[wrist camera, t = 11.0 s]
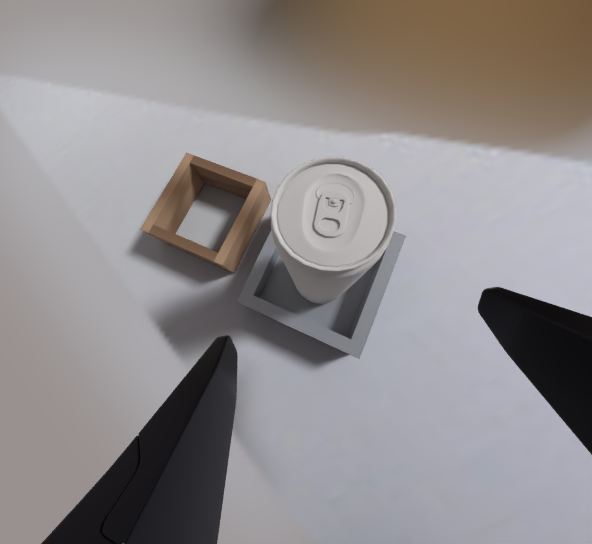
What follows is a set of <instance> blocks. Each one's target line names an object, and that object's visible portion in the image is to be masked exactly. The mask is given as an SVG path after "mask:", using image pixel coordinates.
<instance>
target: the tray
mask: <svg viewBox="0 0 592 544" xmlns="http://www.w3.org/2000/svg"><path fill="white" fill-rule="evenodd" d="M405 237H406V236H405V235H402V234H399V233H397V232H394V231H393V234H392V237H391V238H390V242H389V245H388V246H387V248H386V250H385V251H384V253H383V254H382V256H381V257H380V259H379V260H378V261H377V262H376V263H375V264H374V265H373V266H372V267H371V268H370V269H369V270H368V271H367V272H366V273H365V274H364V275H363V276H362V277H360V278H359V279H358V280H357V281H356V282H355V283H354V284H353V285H352V286H351V287H349V288H348V289H347V290H346V291H345V292H344V293H343V294H341V295H340V296H339V297H338V298H337V299H335V300H333V301H331V302H329V303H324V304H320V303H313V302H310V301H308V300H306V299H305V298H303V297H302V296H301V295H300V293H299V292H298V291H297V289H296V286H295V284H294V282H293V280H292V278H291V276H290V274H289V272H288V270H287V268H286V266H285V264H284V262H283V259H282V257H281V255H280V253H279V251H278V249H277V247H276V245H275V243H274V240H273V236H272V230H271V231H270V233H269V236H268V238H267V240H266V242H265V244H264V246H263V248H262V250H261V252H260V254H259V256H258V258H257V260H256V262H255V264H254V266H253V268H252V270H251V272H250V274H249V276H248V278H247V280H246V282H245V285H244V287H243V289H242V291H241V293H240V295H239V297H238V299H237V301H236V302H237V303H240V304H242V305H244V306H246V307H248V308H250V309H253V310H255V311H257V312H259V313H261V314H263V315H266V316H268V317H270V318H272V319H274V320H276V321H278V322H281V323H283V324H285V325H287V326H289V327H291V328H294V329H296V330H298V331H300V332H302V333H304V334H307V335H309V336H311V337H313V338H315V339H317V340H320V341H322V342H324V343H326V344H328V345H330V346H333V347H335V348H337V349H339V350H341V351H343V352H346V353H348V354H350V355H352V356H354V357H356V358H359V359H360V356H361V353H362V351H363V348H364V345H365V343H366V340H367V337H368V335H369V332H370V329H371V327H372V324H373V322H374V319H375V316H376V314H377V311H378V308H379V306H380V303H381V300H382V298H383V295H384V292H385V290H386V287H387V284H388V282H389V279H390V276H391V274H392V271H393V268H394V266H395V263H396V261H397V258H398V255H399V253H400V250H401V247H402V245H403V242H404V239H405Z"/></svg>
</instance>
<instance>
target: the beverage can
mask: <svg viewBox="0 0 592 544" xmlns="http://www.w3.org/2000/svg"><path fill="white" fill-rule="evenodd" d="M395 223H396V205H395V201H394V198H393V195H392V191H391V190H390V188H389V187H388V185H387V184H386V182H385V181H384V179H383V178H382V177H381V176H380V175H379V174H378V173H377V172H375V171H374V170H373V169H372V168H371V167H369V166H367V165H365V164H363V163H361V162H359V161H357V160H353V159H349V158H345V157H323V158H318V159H313V160H311V161H308V162H306V163H304V164H302V165H300V166H298V167H297V168H296V169H294V170H293V171H292V172H291V173H289V174H288V175H287V176H286V177H285V178H284V180H283V181H282V182H281V184H280V185H279V186H278V188H277V191H276V193H275V195H274V198H273V200H272V208H271V230H272V236H273V240H274V243H275V245H276V247H277V249H278V251H279V253H280V255H281V257H282V259H283V262H284V264H285V266H286V268H287V270H288V272H289V274H290V276H291V278H292V280H293V282H294V284H295V286H296V289H297V291H298V292H299V293H300V295H301V296H302V297H303V298H305V299H306V300H308V301H310V302H313V303H320V304H324V303H329V302H331V301H333V300H335V299H337V298H338V297H339V296H340V295H341V294H343V293H344V292H345V291H346V290H347V289H348V288H349V287H351V286H352V285H353V284H354V283H355V282H356V281H357V280H358V279H359V278H360V277H362V276H363V275H364V274H365V273H366V272H367V271H368V270H369V269H370V268H371V267H372V266H373V265H374V264H375V263H376V262H377V261H378V260H379V259H380V257H381V256H382V254H383V253H384V251H385V250H386V248H387V246H388V245H389V242H390V238H391V237H392V234H393V230H394V227H395Z"/></svg>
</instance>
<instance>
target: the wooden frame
mask: <svg viewBox="0 0 592 544" xmlns="http://www.w3.org/2000/svg"><path fill="white" fill-rule="evenodd" d="M204 182H205V183H208V184H210V185H213V186H215V187H218V188H220V189H223V190H226V191H228V192H231V193H233V194H236V195H239V196H241V197H244V198H246V201H245V203H244V205H243V207H242V209H241V211H240V212H239V214H238V216H237V218H236V220H235V222H234V224H233V226H232V228H231V230H230V232H229V233H228V235H227V237H226V239H225V241H224V243H223V245H222V247H221V249H220V251H219V253H218V252H215V251H213V250H211V249H208V248H206V247H204V246H202V245H199V244H197V243H195V242H192V241H190V240H188V239H185V238H183V237H181V236H178V235H176V234H175V233H176V231H177V230H178V228H179V226H180V224H181V223H182V221H183V219H184V217H185V216H186V214H187V212H188V210H189V209H190V207H191V205H192V203H193V202H194V200H195V198H196V196H197V194H198V193H199V191H200V189H201V187H202V186H203V184H204ZM270 201H271V198H270V195H269V192H268V189H267V185H266V182H264V181H261V180H259V179H256V178H253V177H251V176H248V175H245V174H242V173H240V172H237V171H234V170H232V169H229V168H226V167H224V166H221V165H218V164H216V163H213V162H210V161H207V160H205V159H202V158H199V157H197V156H194V155H191V154H189V153H186V154H185V156H184V158H183V159H182V161H181V163H180V164H179V166H178V168H177V169H176V171H175V173H174V174H173V176H172V178H171V179H170V181H169V183H168V184H167V186H166V188H165V189H164V191H163V193H162V194H161V196H160V198H159V199H158V201H157V203H156V204H155V206H154V208H153V209H152V211H151V213H150V214H149V216H148V218H147V219H146V221H145V223H144V224H143V226H142V228H141V230H143V231H145V232H146V233H148V234H150V235H152V236H154V237H155V238H157V239H159V240H161V241H163V242H165V243H167V244H169V245H172V246H174V247H176V248H178V249H181V250H183V251H185V252H188V253H190V254H192V255H194V256H197V257H199V258H201V259H203V260H206V261H208V262H210V263H212V264H215V265H217V266H219V267H221V268H224V269H226V270H228V271H230V272H233V273H235V271H236V269H237V267H238V265H239V263H240V261H241V259H242V257H243V255H244V253H245V251H246V249H247V247H248V245H249V243H250V241H251V239H252V237H253V235H254V233H255V231H256V229H257V227H258V225H259V223H260V221H261V219H262V217H263V215H264V213H265V211H266V209H267V207H268V205H269V203H270Z"/></svg>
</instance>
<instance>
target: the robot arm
mask: <svg viewBox="0 0 592 544" xmlns="http://www.w3.org/2000/svg"><path fill="white" fill-rule="evenodd" d="M478 311H479V313H480V315H481V317H482V318H483V319H484V321H485V322H486V324H487V325H488V327H489V328H490V330H491V331H492V333H493V334H494V335H495V337H496V338H497V340H498V341H499V343H500V344H501V346H502V347H503V348H504V350H505V351H506V352H507V354H508V355H509V356H510V358H511V359H512V360H513V361H514V362H515V364H516V365H517V366H518V367H519V368H520V370H521V371H522V372H523V373H524V374H525V375H526V377H527V378H528V379H529V380H530V381H531V383H532V384H533V385H534V386H535V387H536V389H537V390H538V391H539V392H540V393H541V395H542V396H543V397H544V398H545V399H546V401H547V402H548V403H549V404H550V405H551V407H552V408H553V409H554V410H555V411H556V413H557V414H558V415H559V416H560V417H561V419H562V420H563V421H564V422H565V423H566V425H567V426H568V427H569V428H570V429H571V430H572V432H573V433H574V434H575V435H576V436H577V438H578V439H579V440H580V441H581V442H582V444H583V445H584V446H585V447H586V448H587V450H588V451H589V452H590V453H591V454H592V317H590V316H587V315H583V314H580V313H577V312H574V311H571V310H568V309H565V308H562V307H559V306H556V305H553V304H550V303H547V302H544V301H540V300H537V299H534V298H531V297H528V296H525V295H522V294H519V293H516V292H513V291H510V290H507V289H504V288H500V287H493V288H487V289H485V290H484V291H483V292H482V295H481V298H480V301H479V304H478ZM236 393H237V351H236V348H235V346H234V344H233V342H232V339H231V337H230V336H221V337H218V338H216V339H215V341H214V342H213V343H212V344H211V346H210V347H209V348H208V349H207V350H206V352H205V353H204V354H203V355H202V357H201V358H200V359H199V360H198V361H197V363H196V364H195V365H194V366H193V368H192V369H191V370H190V371H189V373H188V374H187V375H186V377H184V379H183V380H182V381H181V382H180V384H179V385H178V386H177V387H176V388H175V390H174V391H173V392H172V394H171V395H170V396H169V397H168V398H167V400H166V401H165V402H164V403H163V404H162V406H161V407H160V408H159V409H158V410H157V412H156V413H155V414H154V415H153V417H152V418H151V419H150V420H149V421H148V423H147V424H146V425H145V426H144V428H143V429H142V430H141V431H140V433H139V436H136V437H135V438H134V440H133V441H132V442H131V443H130V445H129V446H128V447H127V448H126V450H125V451H124V452H123V453H122V454H121V455H120V457H119V458H118V459H117V460H116V461H115V463H114V464H113V465H112V466H111V467H110V468H109V470H108V471H107V472H106V473H105V474H104V475H103V476H102V478H101V479H100V480H99V481H98V482H97V483H96V484H95V486H94V487H93V488H92V489H91V490H90V491H89V492H88V493H87V494H86V495H85V497H84V498H83V499H82V500H81V501H80V502H79V503H78V504H77V505H76V506H75V508H74V509H73V510H72V511H71V512H70V513H69V514H68V515H67V516H66V517H65V518H64V520H63V521H62V522H61V523H60V524H59V525H58V526H57V527H56V529H54V531H52V533H51V534H50V535H49V536H48V537H47V538H46V539H45V540H44V541H43V542H42V544H217V540H218V532H219V525H220V517H221V510H222V503H223V495H224V487H225V480H226V473H227V465H228V458H229V450H230V443H231V436H232V428H233V421H234V413H235V406H236Z"/></svg>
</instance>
